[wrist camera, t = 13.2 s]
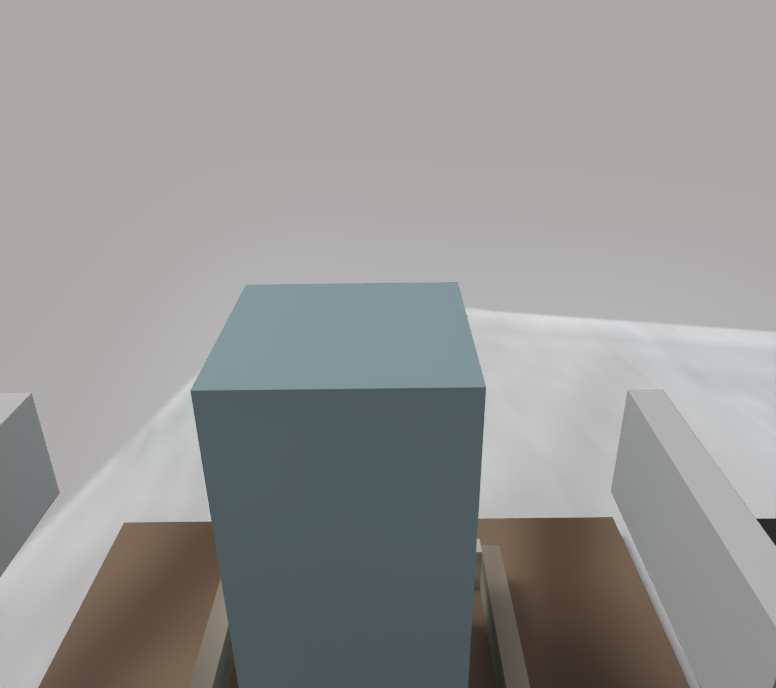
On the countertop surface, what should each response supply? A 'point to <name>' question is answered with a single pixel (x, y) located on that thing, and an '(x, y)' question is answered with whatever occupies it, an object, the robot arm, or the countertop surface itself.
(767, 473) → the countertop surface
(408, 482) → the blue-grey tall block
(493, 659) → the board
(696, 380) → the countertop surface
